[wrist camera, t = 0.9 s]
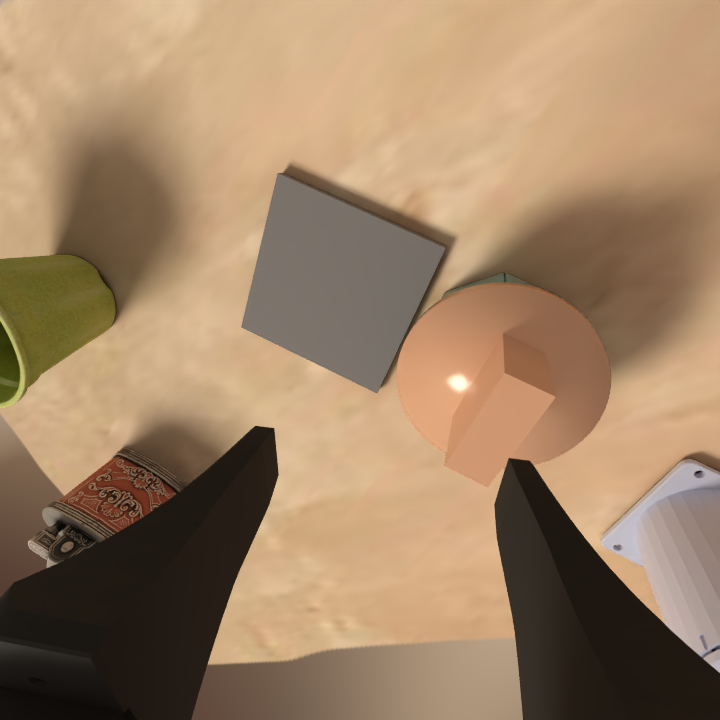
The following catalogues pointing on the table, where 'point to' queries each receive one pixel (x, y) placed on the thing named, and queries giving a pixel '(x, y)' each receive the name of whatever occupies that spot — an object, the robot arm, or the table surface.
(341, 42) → the table surface
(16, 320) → the plant pot
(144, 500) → the lighter
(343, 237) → the mat
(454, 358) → the lid
